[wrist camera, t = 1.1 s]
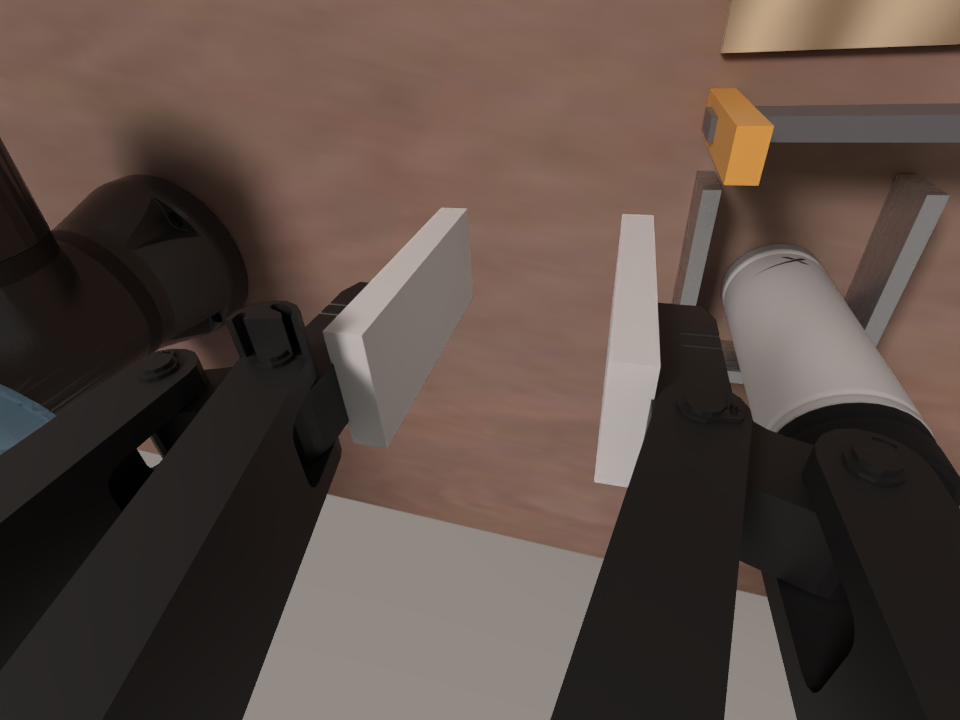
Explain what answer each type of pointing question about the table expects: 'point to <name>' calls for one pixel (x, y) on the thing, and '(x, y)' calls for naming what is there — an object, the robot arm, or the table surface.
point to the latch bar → (812, 129)
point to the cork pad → (838, 24)
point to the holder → (878, 272)
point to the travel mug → (815, 357)
